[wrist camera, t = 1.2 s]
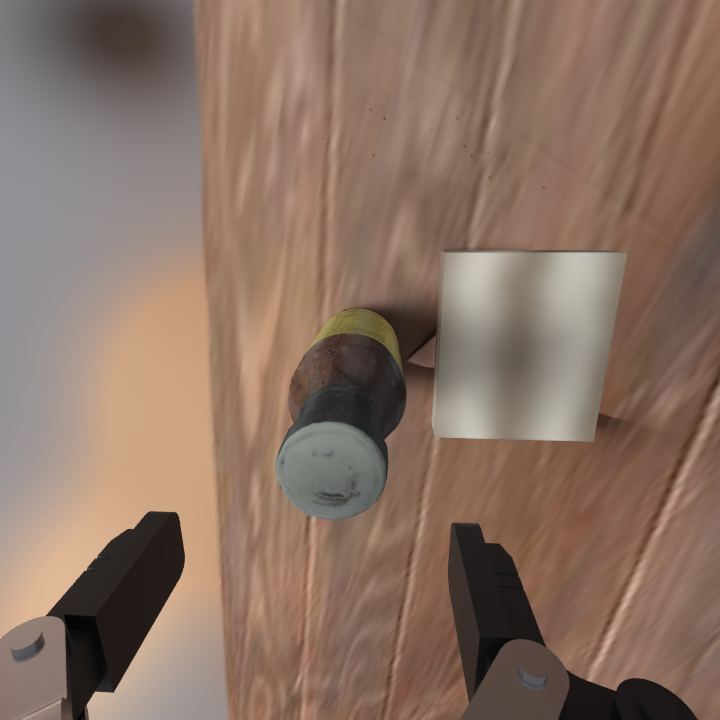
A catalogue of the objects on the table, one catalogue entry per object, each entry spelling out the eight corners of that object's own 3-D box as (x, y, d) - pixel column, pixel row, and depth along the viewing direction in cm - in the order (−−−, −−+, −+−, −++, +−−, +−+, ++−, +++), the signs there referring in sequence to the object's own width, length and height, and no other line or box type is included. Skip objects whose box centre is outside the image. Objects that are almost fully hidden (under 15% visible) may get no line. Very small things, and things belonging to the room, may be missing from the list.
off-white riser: (605, 250, 32) (627, 252, 29) (577, 424, 36) (593, 441, 33) (440, 249, 32) (445, 252, 29) (431, 420, 36) (434, 437, 34)
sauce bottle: (371, 393, 35) (352, 587, 17) (305, 354, 35) (208, 509, 16) (415, 327, 34) (451, 461, 15) (347, 285, 33) (292, 367, 14)
